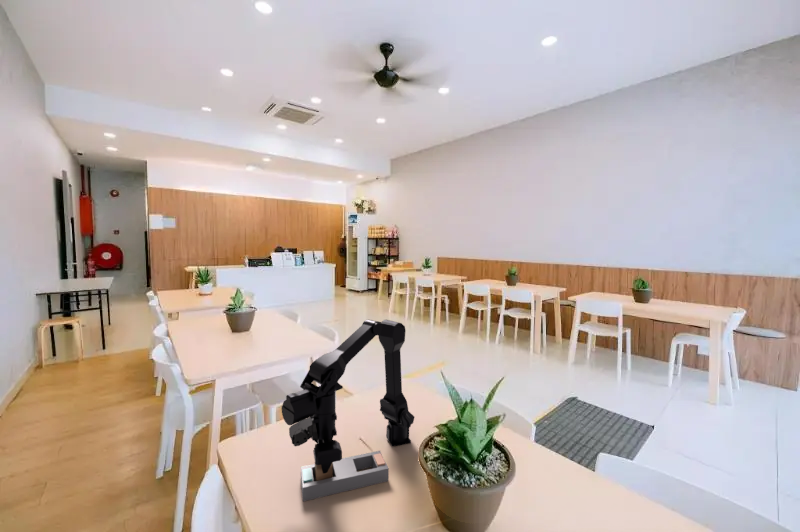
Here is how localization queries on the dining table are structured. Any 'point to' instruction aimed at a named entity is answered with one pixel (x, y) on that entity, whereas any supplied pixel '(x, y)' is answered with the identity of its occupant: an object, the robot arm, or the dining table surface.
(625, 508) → the dining table surface
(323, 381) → the robot arm
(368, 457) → the socket strip
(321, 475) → the brown wooden block
